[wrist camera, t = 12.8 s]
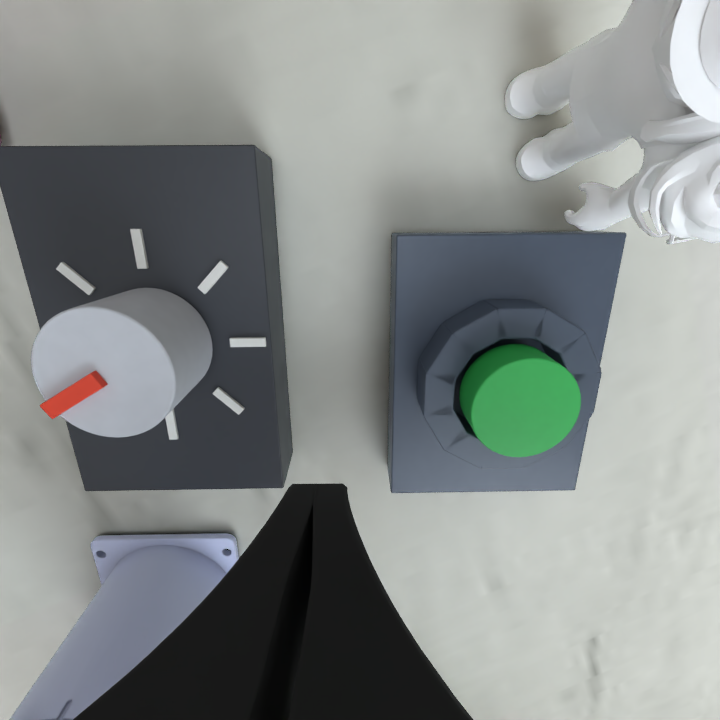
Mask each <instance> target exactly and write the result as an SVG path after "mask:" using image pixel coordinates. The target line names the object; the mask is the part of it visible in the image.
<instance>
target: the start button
mask: <svg viewBox="0 0 720 720" xmlns="http://www.w3.org/2000/svg"><path fill="white" fill-rule="evenodd" d="M459 400H460V405H461V409H462V411H463V413H464V415H465V417H466V419H467V421H468V422H469V424H470V426H471V428H472V429H473V431H474V433H475V435H476V436H477V438H478V439H479V440H480V441H481V443H482V444H483V445H485V446H486V447H487V448H488V449H490V450H492V451H494V452H496V453H498V454H501V455H504V456H509V457H528V456H533V455H536V454H540V453H542V452H545V451H547V450H549V449H550V448H552V447H554V446H555V445H557V444H558V443H559V442H560V441H562V440H563V439H564V438H565V437H566V436H567V435H568V433H569V432H570V431H571V429H572V428H573V426H574V425H575V423H576V421H577V418H578V416H579V412H580V407H581V395H580V389H579V386H578V384H577V382H576V380H575V378H574V377H573V375H572V374H571V373H570V372H569V371H568V370H567V369H566V368H565V367H563V366H562V365H561V364H559V363H558V362H556V361H555V360H553V359H552V358H551V357H549V356H548V355H546V354H545V353H543V352H542V351H540V350H539V349H537V348H535V347H532V346H529V345H524V344H507V345H502V346H499V347H496V348H493V349H491V350H489V351H487V352H486V353H484V354H482V355H481V356H480V357H478V358H477V359H476V360H475V361H474V362H473V363H472V364H471V366H470V367H469V368H468V370H467V371H466V373H465V375H464V377H463V379H462V382H461V385H460V391H459Z"/></svg>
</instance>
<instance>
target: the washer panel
mask: <svg viewBox="0 0 720 720" xmlns="http://www.w3.org/2000/svg"><path fill="white" fill-rule="evenodd" d="M0 187H1V190H2V194H3V197H4V201H5V205H6V208H7V212H8V215H9V219H10V223H11V226H12V230H13V233H14V237H15V240H16V244H17V248H18V251H19V255H20V258H21V262H22V266H23V269H24V273H25V276H26V280H27V284H28V287H29V291H30V294H31V298H32V301H33V305H34V309H35V312H36V316H37V319H38V323H39V327H40V329H41V328H42V327H43V326H44V324H45V323H46V322H47V321H48V320H50V319H51V318H52V317H53V316H55V315H57V314H59V313H60V312H63V311H65V310H68V309H71V308H74V307H77V306H80V305H84V304H87V303H90V302H93V301H96V300H100V299H103V298H106V297H109V296H113V295H116V294H119V293H122V292H125V291H129V290H132V289H137V288H156V289H162V290H165V291H168V292H171V293H173V294H175V295H177V296H179V297H181V298H182V299H184V300H185V301H187V302H188V303H189V304H190V305H191V306H193V307H194V308H195V309H196V310H197V312H198V313H199V314H200V315H201V317H202V318H203V320H204V321H205V323H206V325H207V327H208V329H209V332H210V335H211V340H212V348H213V351H212V359H211V364H210V366H209V369H208V371H207V372H206V374H205V376H204V377H203V378H202V379H201V380H200V381H199V383H198V384H197V385H196V386H195V387H194V388H193V389H192V390H191V391H190V392H189V393H188V394H187V395H186V396H185V397H184V398H183V399H182V400H181V401H180V402H179V403H178V404H177V405H176V406H175V408H174V409H173V410H172V411H171V412H170V413H169V414H168V415H167V416H166V417H165V418H164V419H163V420H162V421H161V422H160V423H159V424H158V425H156V426H155V427H153V428H152V429H150V430H148V431H146V432H144V433H141V434H138V435H134V436H129V437H106V436H100V435H96V434H92V433H89V432H87V431H84V430H82V429H80V428H78V427H76V426H74V425H72V424H71V423H69V422H68V421H66V423H67V427H68V430H69V434H70V438H71V441H72V445H73V448H74V452H75V456H76V459H77V463H78V466H79V470H80V473H81V477H82V481H83V484H84V488H85V491H118V490H182V489H246V488H283V487H284V483H285V480H286V476H287V472H288V468H289V464H290V461H291V457H292V453H293V449H292V435H291V422H290V408H289V394H288V380H287V366H286V353H285V339H284V325H283V311H282V297H281V283H280V270H279V256H278V242H277V228H276V214H275V201H274V187H273V173H272V159H271V158H270V157H269V156H268V155H266V154H265V153H264V152H263V151H261V150H260V149H259V148H257V147H256V146H255V145H147V146H0Z"/></svg>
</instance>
